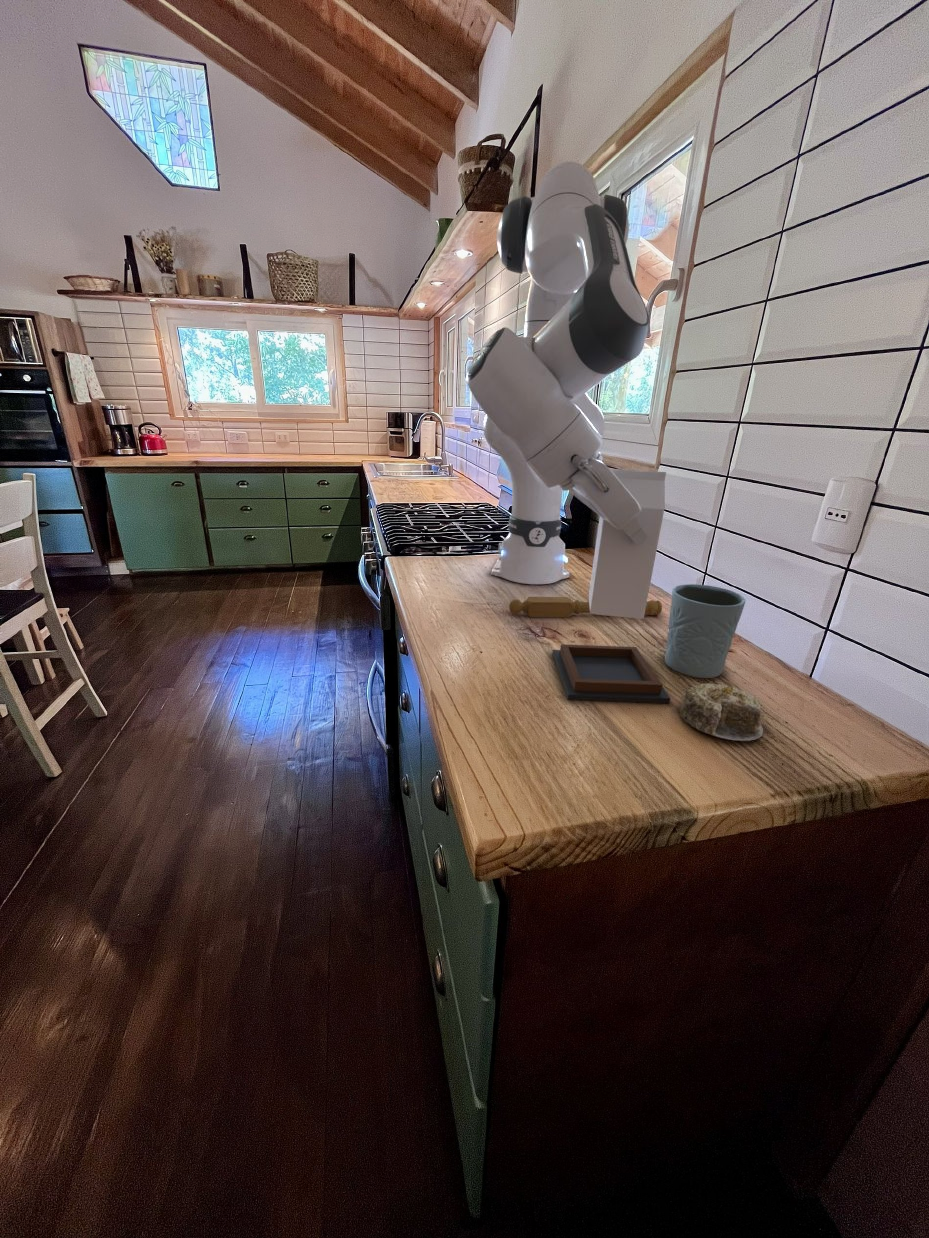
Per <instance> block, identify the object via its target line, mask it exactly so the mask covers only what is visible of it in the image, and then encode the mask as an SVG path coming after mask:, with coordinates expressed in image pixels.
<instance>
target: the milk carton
mask: <svg viewBox="0 0 929 1238" xmlns="http://www.w3.org/2000/svg"><path fill="white" fill-rule="evenodd" d="M609 469H610V470H611V471H612V472H613V473H614V474H615V475H616V477H617V478H618V479H619V480H620V481H621V482H622V484H623V485H624V486H625V487H626V488H627V490H628V491H629V492H630V493H631V494H632V496H633V497H634V498H635V499H636V500H637V502H638V503H639V505H640V507H641V510H642V511H641V513H640V514H639V515H638V516H637V517H636V518H637V519H638V521H639V523H640V525H641V527H642V529H643V530H644V531H645V532H646V534H647V535H648V539H647V540H646V541H645V542H643V543H642V544H641V545H638V546H637V545H635V544H634V543H633V542H632V541H631V540H630V538H629V537H628V536H627V535H626V533H625V532H624V531H623V530H622V529H620V530H617V529H616V528H614V527H613V526H612V525H611V524H609V523H608V522H607V521H606V520H604V519H603V518H602V517H600V516H599V520H598V526H597V534H596V541H595V548H594V556H593V562H592V570H591V575H590V576H591V577H590V583H589V590H588V592H589V593H588V602H589V606H590V613H589V614H590V615H597V616H609V617H615V618H616V617H617V618H626V619H634V620H635V619H636V620H644V618H645V614H646V613H645V609H646V604H647V602H648V599H649V594H650V587H651V582H652V576H653V571H654V566H655V561H656V556H657V550H658V547H659V545H658V544H659V540H660V535H661V529H662V525H663V519H664V513H665V509H666V508H665V506H666V504H665V503H666V500H665V499H666V498H665V496H666V495H665V494H666V492H665V491H666V490H665V489H666V485H665V484H666V483H665V482H666V475H667V472H666V471H655V470H654V471H653V470H638V469H637V470H636V469H617V468H609ZM608 490H609V488H608ZM606 492H608V491H606Z"/></svg>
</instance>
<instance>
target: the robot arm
mask: <svg viewBox="0 0 929 1238" xmlns="http://www.w3.org/2000/svg"><path fill="white" fill-rule="evenodd" d="M628 215H629V214H628V206H627V205H626V203H625V201H624V199H622V198H620V197H618V196H614V195H611V194H610V195H609V194H604V196H600V192H599V188H598V185H597V182H596V179H595V177H594V175H593V173H592V172H591V171H590V170H589V169H588V167H586V166H585V165H584V164H582V163H580V162H576V161H565V162H560V163H558V164H557V165H555V166H553V167H552V168H551V169H549V170H548V171H547V172H546V173H545V175H544V176H543V177H542V179H541V181H540V183H539V185H538V187H537V190H536V191H535V195H534V196H532V197H529V196H526V195H525V196H521V197H518V198H515V199H512V200H510V202H508V204H506V206H505V207H504V208H503V210H502V215H501V217H500V220H499V223H498V226H497V233H496V243H497V244H496V245H497V250H498V254H499V256H500V260H501V264H502V265H503V267H504V268H505V269H506V271H509V272H512V273H516V274H520V275H521V274H522V275H523V273H528V274H529V277H530V278H531V279H530V283H529V284H530V285H529V289H528V295H527V301H526V308H525V319H524V332H523V336H518V335H517V334H516V333H515V332H514V331H513V330H512V329H510V328H508V327H507V326H504V327H502V328H500V329H498V330H497V331H495V332H494V333H493V334H492V335H491V336H490V337H489V338H488V339H487V340H486V342H485V343H484V344H483V345H482V346H481V348H480V350H479V351H478V352H477V354H475V356H474V357H473V358H472V361H471V362H470V364H469V366H468V368H467V371H466V376H465V380H466V384H467V386H468V389H469V391H470V393H471V394H472V396H473V398H474V399H475V401H476V402H477V404H478V405H479V407H480V408H481V410H482V411H483V413H484V414H485V415H484V419H483V424H482V430H483V435H484V438H485V441H486V442H487V443H488V446H489V447H490V448H491V449H493V450H494V451H495V452H496V453H497V454H498V455H499V457H500V458H501V459H502V461H503V462H504V463H505V466H506V467H507V470H508V472H509V475H510V480H511V490H512V491H511V493H512V494H511V495H512V496H511V500H512V501H511V514H510V516H509V518H508V519H509V520H508V534H507V536H506V537H504V538H503V540H502V541H501V542H499V543H498V547H497V548H498V550H497V552H498V553H500V555H499V556H498V558H497V559H496V561H495V563H494V565H493V567H492V569H491V571H490V572H491V573H490V575H492V576H495V577H500V578H503V579H505V580H508V581H509V582H514V583H518V584H526V585H548V584H553V583H556V582H559V581H560V580H565V579H569V578H570V577H571V576H570V574H571V573H570V572H569V571H568V570H567V569H565V568H564V567H565V563H568V561H569V558H568V557H567V556H566V555H565V554H566V543H565V542H564V541H563V540H562V539H561V537H560V534H561V529H562V518H561V509H562V499H563V491H565V492H566V491H569V492H570V493H571V494H572V495H573V496H574V498H577V500H579V502H581V503H582V504H584V505H586V506H587V507H588V508H589V509H590V510H592V512H594V513H595V514H597V515H598V516H599V518H600V517H602V518H603V519H604V520H606V521H607V522H608V523H609V524H611V525H612V526H613V527H614V528H616V529H617V530H620V529H622V530H623V531H624V532H625V533H626V535H627V536H628V537H629V538H630V540H631V541H632V542H633V543H634V544H635V545H637V546H638V545H641V544H642V543H643V542H645V541H646V540H647V539H648V535H647V534H646V532H645V531H644V530H643V529H642V527H641V525H640V523H639V521H638V519H637V518H636V517H637V516H638V515H639V514H640V513H641V511H642V510H641V507H640V505H639V503H638V502H637V500H636V499H635V498H634V497H633V496H632V494H631V493H630V492H629V491H628V490H627V488H626V487H625V486H624V485H623V484H622V482H621V481H620V480H619V479H618V478H617V477H616V475H615V474H614V473H613V472H612V471H611V470H610V469H611V468H609V467H608V466H607V465H606V464H605V463H604V462H603V459H604V456H603V454H602V453H601V452H600V451H599V450H600V448H601V447H602V445H603V442H604V434H605V429H606V427H605V426H606V422H605V417H604V414H603V412H602V410H601V408H600V407H599V405H597V404H596V403H595V402H594V401H593V400H592V398H591V397H590V396H589V395H588V392H590V391H591V390H592V389H593V388H594V387H596V386H597V385H599V384H600V383H601V382H602V381H603V380H604V379H606V378H607V377H608V376H610V375H611V374H613V373H614V372H616V371H618V370H620V369H621V368H622V367H625V365H627V364H628V363H630V362H632V361H633V360H635V359H636V358H637V357H639V356H640V354H641V353H642V351H643V349H644V346H645V343H646V340H647V336H648V332H649V331H648V330H649V324H650V316H649V312H648V309H647V307H646V304H645V302H644V300H643V297H642V295H641V292H640V291H639V289H638V287H637V285H636V280H635V276H634V272H633V269H632V264H631V260H630V255H629V252H628V249H627V248H628V247H627V242H628V239H629V232H630V222H629V221H630V220H629V216H628ZM608 488H609V490H608ZM606 491H608V492H606Z"/></svg>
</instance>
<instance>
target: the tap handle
mask: <svg viewBox="0 0 929 1238" xmlns="http://www.w3.org/2000/svg"><path fill="white" fill-rule="evenodd" d="M508 609H509V611H510V613H511V614H513V615H518V614H520V613H521V612H523V613H524V614H526V616H528V617H530V618H570V617H571V616H572V615H573V614H575V615H579V614H581V613H582V614H584V613H585V614H590V606H589V601H579V600H573V599H571V598H570V597H568V596H528V597H527V598H526V600H524V601H522V602H521V600H520V599H517V598H515V599H512V600H511V601H510V602H509V603H508ZM662 611H663V605H662V602H661V601H660V600H647V604H646V609H645V614H647V615H649V616H658V615H661V614H662Z"/></svg>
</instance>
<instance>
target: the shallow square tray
mask: <svg viewBox="0 0 929 1238" xmlns="http://www.w3.org/2000/svg"><path fill="white" fill-rule="evenodd" d="M552 657H553V660H554V663H555V666H556V669H557V673H558V675H559V679H560V682H561V684H562V687H563V691H564V693H565V696H566V699H567V700H568V701H591V702H592V701H593V702H617V703H618V702H621V703H622V702H624V703H627V702H628V703H646V704H647V703H652V704H670V702H671V698H670V695H669V694H668V693H667V691H666V690H665V688H664V687H663V683H662V682H661V680H660V679H659V678H658V677H657V675H656V673H655V672H654V671H653V669H652V668H651V666H650V665H649V663H648V662H647V661H646V659H645V658H644V657H643V655H642V653H641V652H640V650H639V649H638V648H637V647H636V646H617V645H590V644H589V645H588V644H562V643H561V644H560V649H553V650H552Z"/></svg>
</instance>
